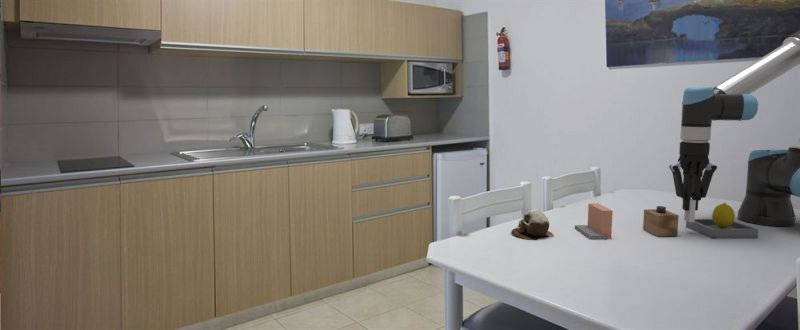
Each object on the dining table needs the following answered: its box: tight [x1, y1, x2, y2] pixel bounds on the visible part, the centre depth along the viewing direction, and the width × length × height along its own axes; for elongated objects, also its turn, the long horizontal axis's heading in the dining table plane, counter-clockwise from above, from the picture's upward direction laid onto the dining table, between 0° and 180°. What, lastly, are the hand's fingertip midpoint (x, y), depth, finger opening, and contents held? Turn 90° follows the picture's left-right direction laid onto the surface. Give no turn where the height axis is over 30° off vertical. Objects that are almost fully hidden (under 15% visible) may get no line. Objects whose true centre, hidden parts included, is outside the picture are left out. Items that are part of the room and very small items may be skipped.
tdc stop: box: [574, 202, 613, 240], centre depth 149 cm, size 6×12×8 cm, turn 1°
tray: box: [685, 218, 759, 240], centre depth 149 cm, size 13×13×2 cm
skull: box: [511, 209, 555, 241], centre depth 149 cm, size 12×10×10 cm
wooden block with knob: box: [642, 205, 680, 237], centre depth 149 cm, size 6×8×8 cm
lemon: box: [711, 202, 735, 229], centre depth 149 cm, size 6×6×8 cm
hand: (689, 221), depth 149 cm, fingers closed
